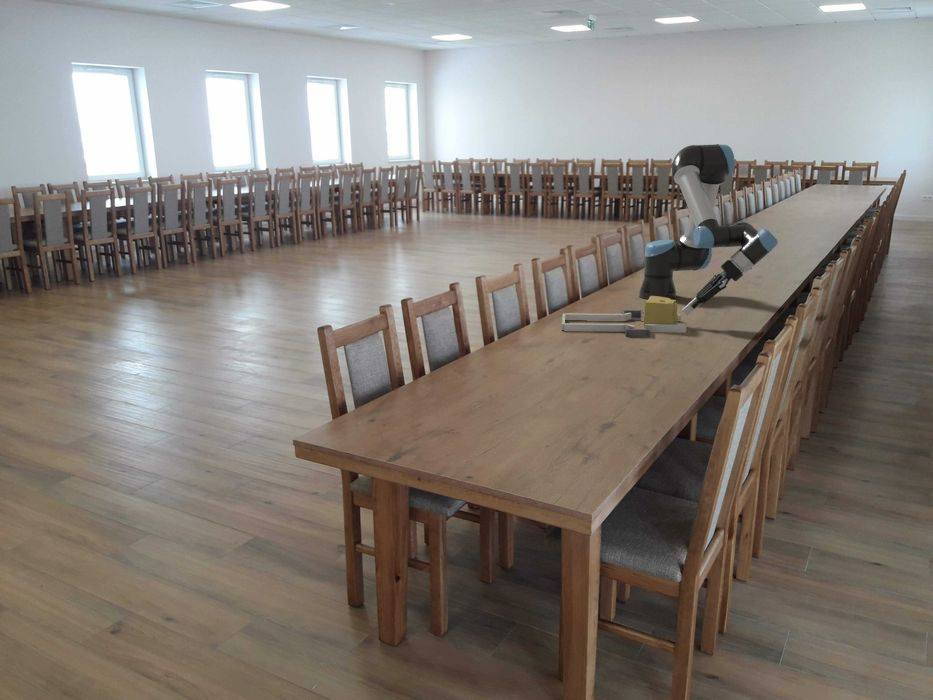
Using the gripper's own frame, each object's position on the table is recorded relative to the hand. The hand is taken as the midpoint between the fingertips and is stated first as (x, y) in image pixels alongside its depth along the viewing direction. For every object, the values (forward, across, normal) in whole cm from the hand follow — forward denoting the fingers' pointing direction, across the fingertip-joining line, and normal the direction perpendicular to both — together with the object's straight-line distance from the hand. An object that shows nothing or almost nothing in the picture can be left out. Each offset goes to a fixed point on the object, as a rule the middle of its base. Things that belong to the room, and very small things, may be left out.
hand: (684, 312), depth 269 cm
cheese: (+10, 0, +2) cm, 10 cm away
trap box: (+19, 0, +12) cm, 23 cm away
